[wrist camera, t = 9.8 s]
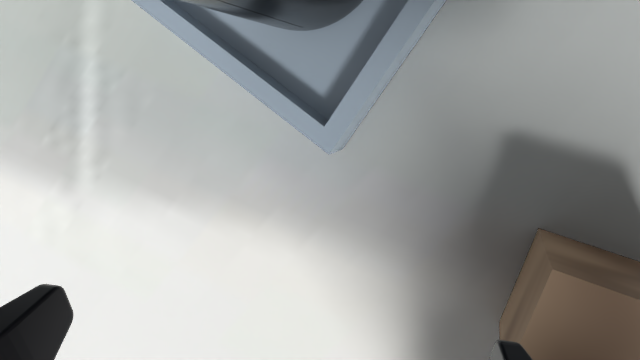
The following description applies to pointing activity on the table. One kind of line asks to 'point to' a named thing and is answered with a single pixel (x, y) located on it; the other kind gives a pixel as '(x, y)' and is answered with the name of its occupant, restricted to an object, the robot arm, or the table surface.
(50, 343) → the robot arm
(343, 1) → the supplement bottle
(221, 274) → the table surface
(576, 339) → the walnut block
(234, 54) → the tray
